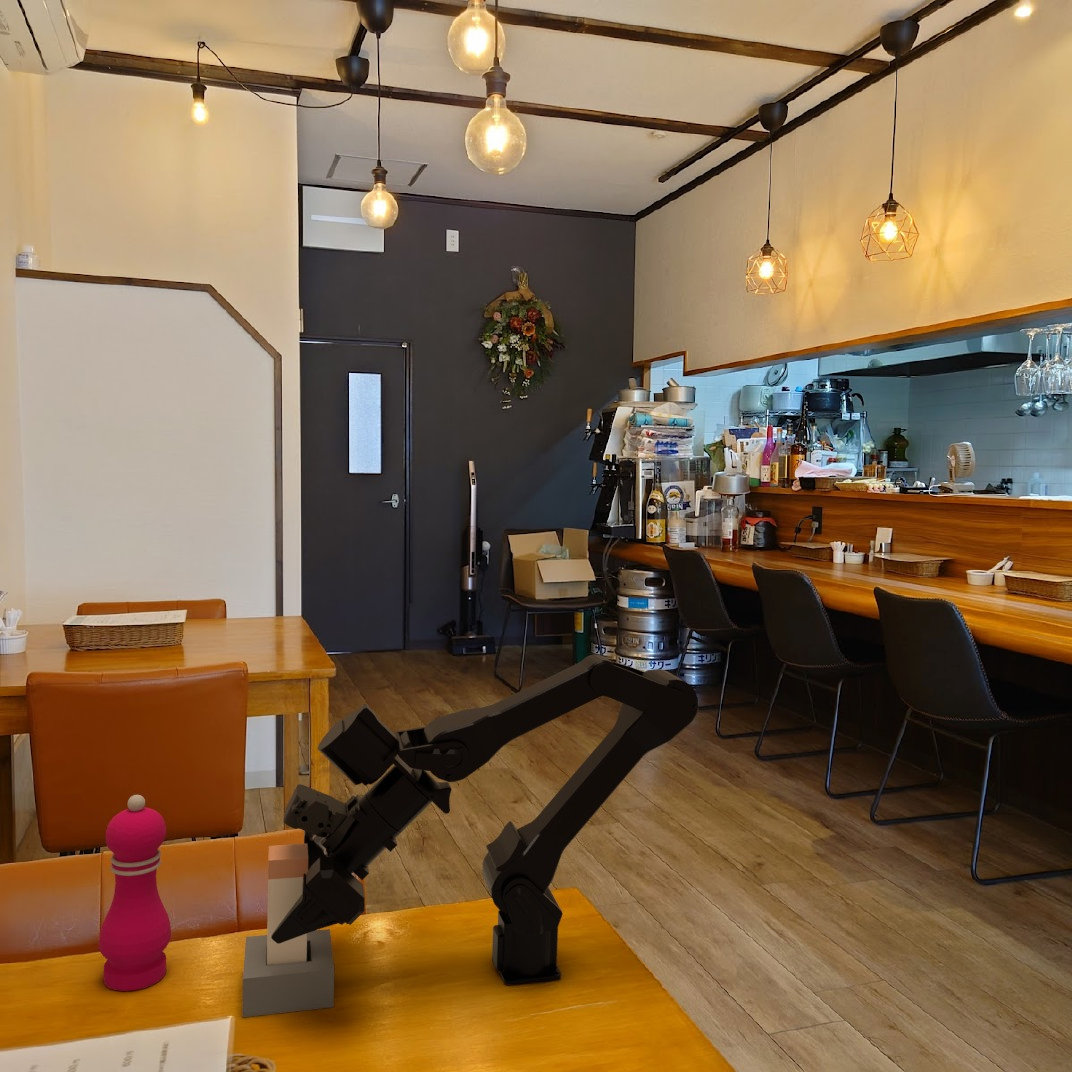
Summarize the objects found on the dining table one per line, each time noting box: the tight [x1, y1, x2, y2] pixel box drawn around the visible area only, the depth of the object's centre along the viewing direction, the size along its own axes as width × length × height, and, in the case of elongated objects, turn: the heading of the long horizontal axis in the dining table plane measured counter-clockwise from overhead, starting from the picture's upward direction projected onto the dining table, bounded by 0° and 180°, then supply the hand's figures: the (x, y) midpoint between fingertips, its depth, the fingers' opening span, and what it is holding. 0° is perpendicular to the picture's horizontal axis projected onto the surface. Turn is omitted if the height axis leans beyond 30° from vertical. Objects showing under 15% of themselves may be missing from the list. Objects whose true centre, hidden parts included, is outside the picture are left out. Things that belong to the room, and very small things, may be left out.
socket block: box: [241, 928, 335, 1018], centre depth 101 cm, size 9×9×4 cm
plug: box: [266, 843, 308, 966], centre depth 101 cm, size 4×4×15 cm
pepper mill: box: [98, 794, 172, 992], centre depth 102 cm, size 7×7×20 cm
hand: (276, 919), depth 101 cm, fingers open, 9 cm apart
